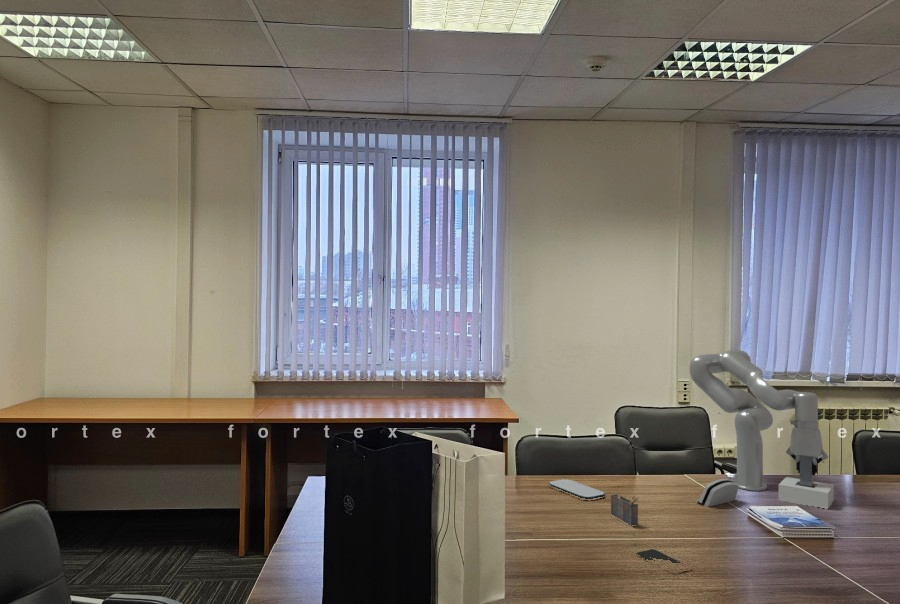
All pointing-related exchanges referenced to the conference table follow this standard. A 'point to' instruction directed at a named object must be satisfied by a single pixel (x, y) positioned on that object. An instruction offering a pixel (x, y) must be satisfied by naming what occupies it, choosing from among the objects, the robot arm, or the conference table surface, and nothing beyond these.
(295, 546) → the conference table surface
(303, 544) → the conference table surface
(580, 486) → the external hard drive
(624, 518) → the grey upright flat piece
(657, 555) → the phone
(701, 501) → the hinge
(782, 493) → the well block
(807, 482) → the bracket bar
